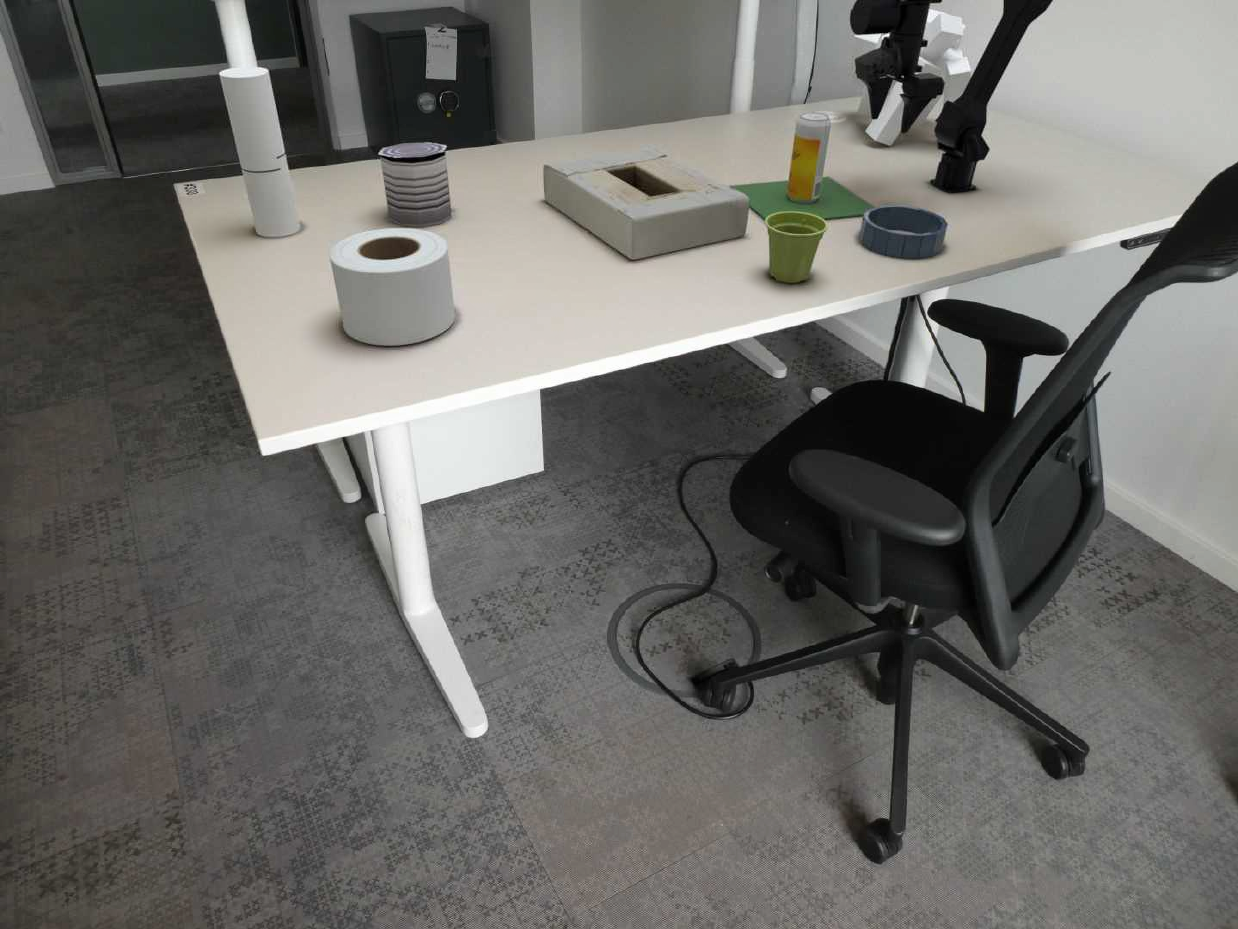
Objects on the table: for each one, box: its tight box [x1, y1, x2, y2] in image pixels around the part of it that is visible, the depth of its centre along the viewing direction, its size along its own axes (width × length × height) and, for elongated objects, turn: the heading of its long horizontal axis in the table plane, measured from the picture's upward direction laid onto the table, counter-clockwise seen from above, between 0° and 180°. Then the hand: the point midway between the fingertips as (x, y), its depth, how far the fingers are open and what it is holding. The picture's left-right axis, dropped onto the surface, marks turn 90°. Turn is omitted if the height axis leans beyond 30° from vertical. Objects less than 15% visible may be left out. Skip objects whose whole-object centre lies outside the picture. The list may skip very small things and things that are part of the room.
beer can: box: [787, 111, 832, 203], centre depth 161 cm, size 6×6×15 cm
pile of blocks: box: [846, 8, 972, 147], centre depth 195 cm, size 35×30×35 cm
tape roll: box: [329, 227, 456, 347], centre depth 120 cm, size 16×15×11 cm
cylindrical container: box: [218, 66, 301, 238], centre depth 142 cm, size 7×7×25 cm
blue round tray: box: [858, 204, 949, 260], centre depth 149 cm, size 14×14×4 cm
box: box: [542, 145, 750, 261], centre depth 155 cm, size 23×8×32 cm
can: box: [377, 141, 452, 228], centre depth 152 cm, size 11×11×12 cm
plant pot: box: [764, 211, 829, 284], centre depth 135 cm, size 9×9×9 cm
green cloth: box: [728, 176, 875, 221], centre depth 165 cm, size 22×20×1 cm
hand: (888, 125), depth 160 cm, fingers open, 9 cm apart
